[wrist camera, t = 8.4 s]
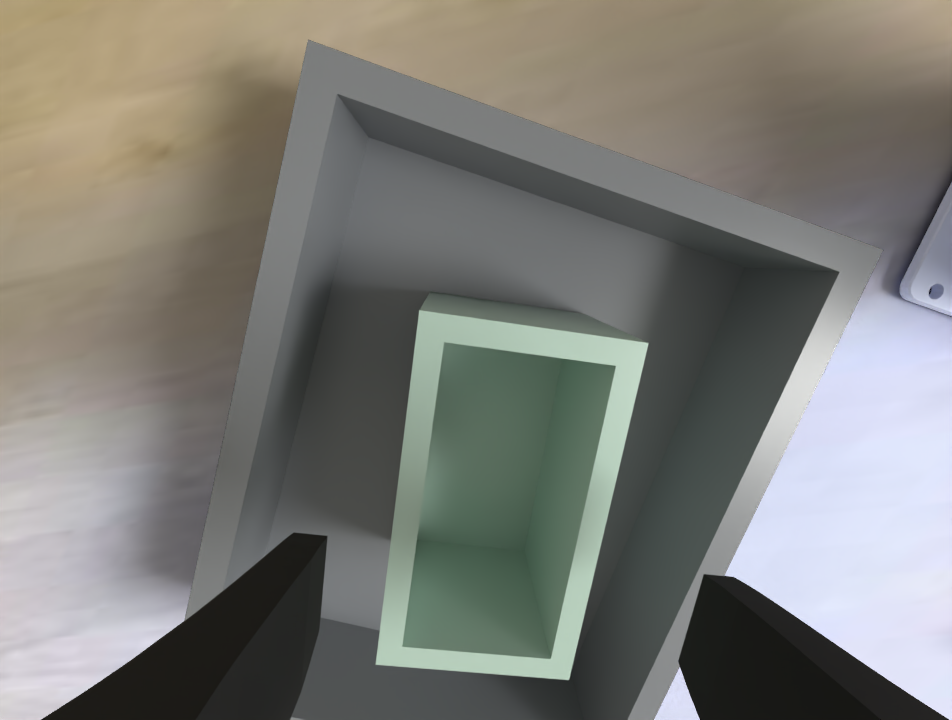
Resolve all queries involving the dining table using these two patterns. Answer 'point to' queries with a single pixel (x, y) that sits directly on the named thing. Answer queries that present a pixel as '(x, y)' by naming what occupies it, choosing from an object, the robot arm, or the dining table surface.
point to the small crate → (504, 485)
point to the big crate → (527, 283)
